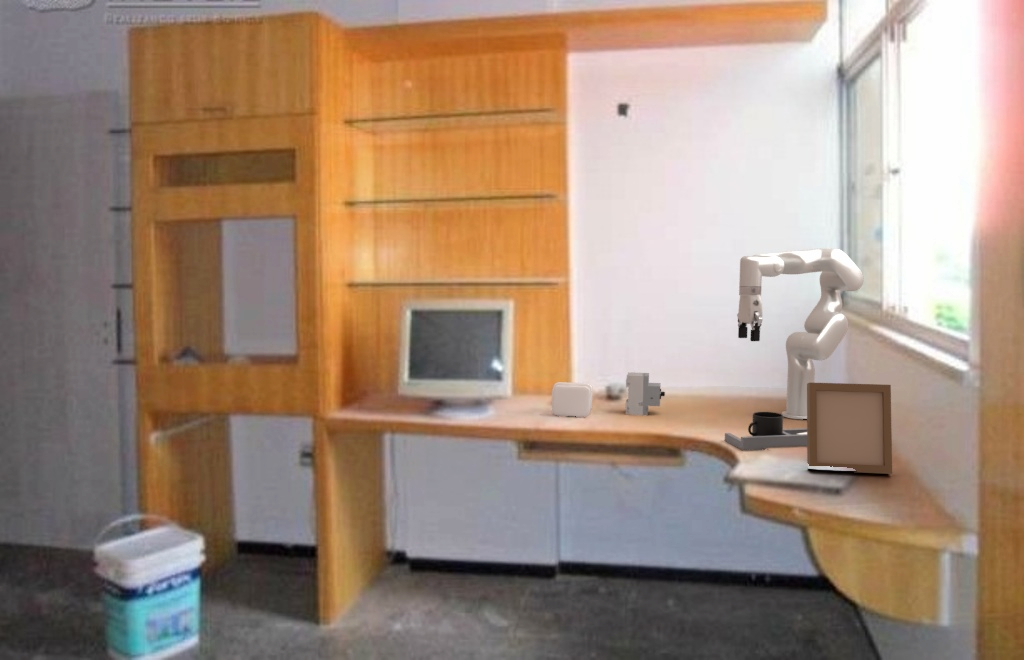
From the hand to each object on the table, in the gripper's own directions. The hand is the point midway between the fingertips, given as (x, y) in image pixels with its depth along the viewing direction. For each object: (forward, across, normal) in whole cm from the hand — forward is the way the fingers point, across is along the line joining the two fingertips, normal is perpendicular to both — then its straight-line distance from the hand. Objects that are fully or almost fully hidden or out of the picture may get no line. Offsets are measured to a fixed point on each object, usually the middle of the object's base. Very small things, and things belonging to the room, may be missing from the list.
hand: (748, 339), depth 302 cm
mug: (+31, -28, +7) cm, 42 cm away
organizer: (+30, -30, +3) cm, 43 cm away
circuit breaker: (+31, +23, +30) cm, 49 cm away
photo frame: (+31, -62, -1) cm, 69 cm away
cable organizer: (+31, +26, +58) cm, 71 cm away
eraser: (+30, -29, -7) cm, 42 cm away
